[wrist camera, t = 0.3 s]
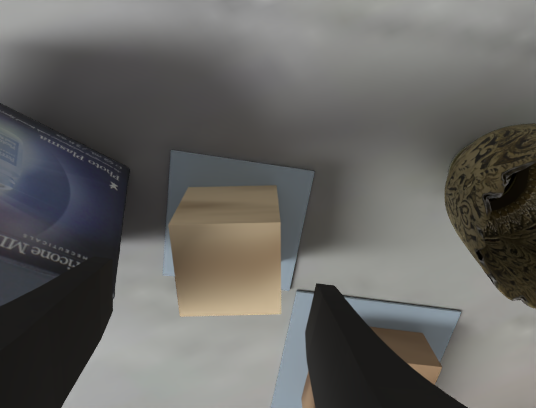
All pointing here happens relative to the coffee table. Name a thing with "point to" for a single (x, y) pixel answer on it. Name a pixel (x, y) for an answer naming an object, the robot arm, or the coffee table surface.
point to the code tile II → (243, 174)
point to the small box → (53, 205)
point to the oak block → (227, 251)
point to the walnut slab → (405, 346)
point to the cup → (498, 207)
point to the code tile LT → (375, 315)
